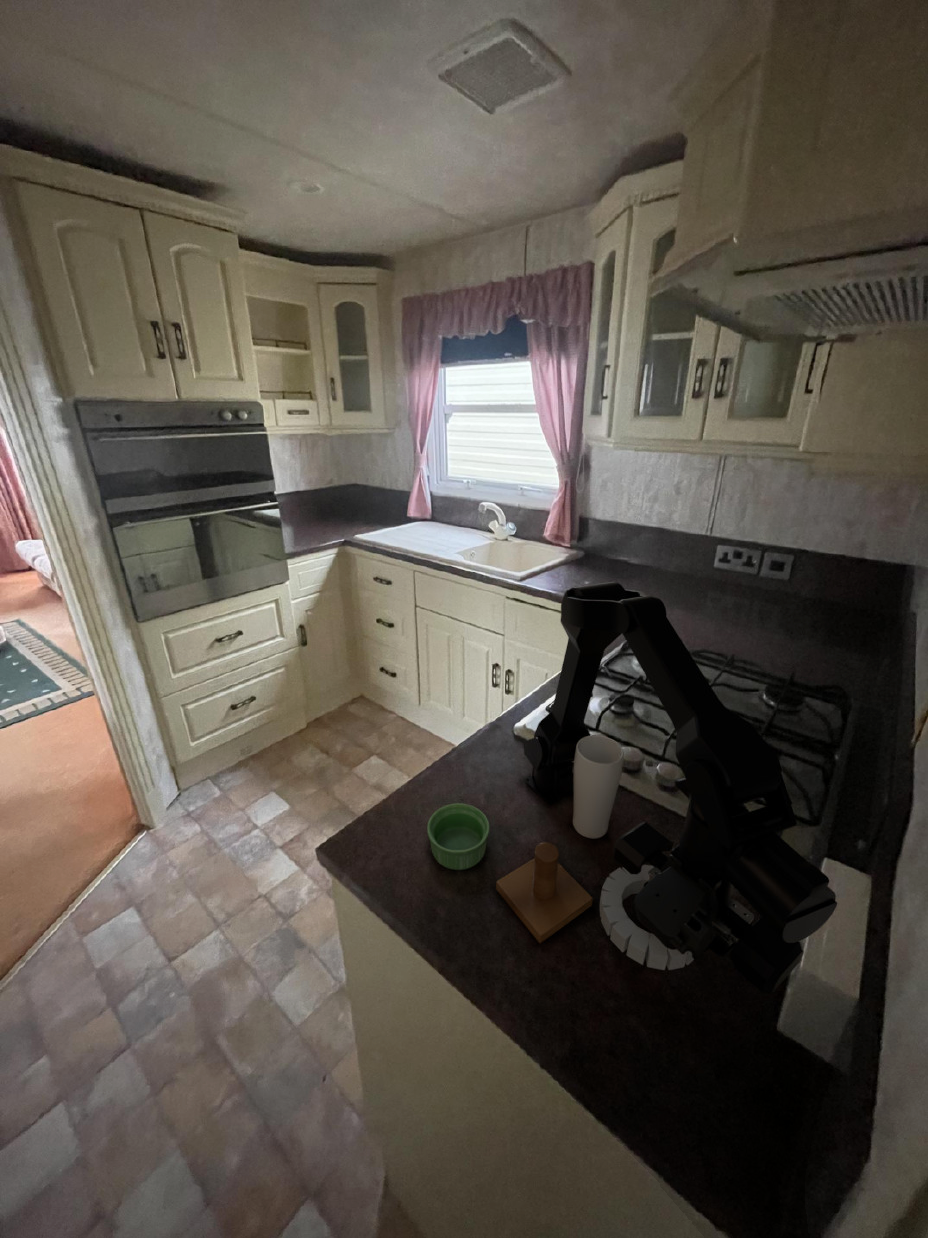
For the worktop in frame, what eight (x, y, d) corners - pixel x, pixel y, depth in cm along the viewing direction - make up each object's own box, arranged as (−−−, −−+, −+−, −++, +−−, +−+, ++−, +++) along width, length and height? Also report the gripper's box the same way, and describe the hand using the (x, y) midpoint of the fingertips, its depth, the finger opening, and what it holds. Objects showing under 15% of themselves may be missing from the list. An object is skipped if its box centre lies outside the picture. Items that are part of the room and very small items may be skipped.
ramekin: (422, 831, 79) (421, 810, 77) (478, 819, 81) (478, 797, 79) (435, 881, 71) (434, 858, 69) (497, 865, 73) (498, 843, 71)
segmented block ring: (579, 906, 64) (581, 893, 63) (642, 862, 70) (645, 849, 69) (658, 992, 55) (662, 978, 54) (723, 933, 61) (727, 919, 60)
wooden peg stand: (495, 889, 70) (497, 843, 66) (545, 858, 74) (549, 814, 71) (539, 943, 63) (543, 896, 59) (591, 905, 67) (598, 859, 64)
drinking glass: (605, 809, 82) (616, 733, 76) (618, 844, 76) (631, 764, 70) (563, 810, 82) (570, 734, 76) (573, 845, 76) (582, 765, 70)
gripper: (586, 821, 55) (574, 918, 61) (759, 973, 41) (719, 1078, 47) (653, 780, 60) (636, 873, 67) (826, 901, 46) (782, 1004, 53)
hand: (684, 945), depth 58 cm, fingers closed on segmented block ring, 2 cm apart
